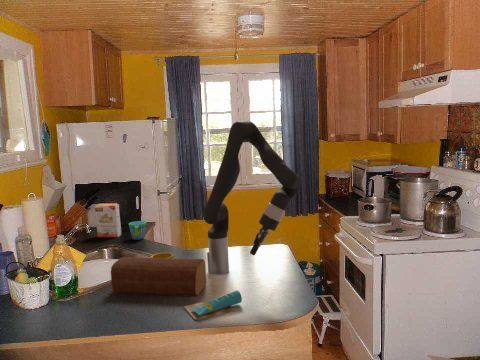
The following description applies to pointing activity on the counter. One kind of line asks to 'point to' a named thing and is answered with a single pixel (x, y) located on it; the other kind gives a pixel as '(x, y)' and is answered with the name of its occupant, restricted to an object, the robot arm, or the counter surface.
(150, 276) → the bread
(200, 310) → the tube
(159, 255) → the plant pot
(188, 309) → the cork mat
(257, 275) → the counter surface
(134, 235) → the snack cup
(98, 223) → the cracker box
